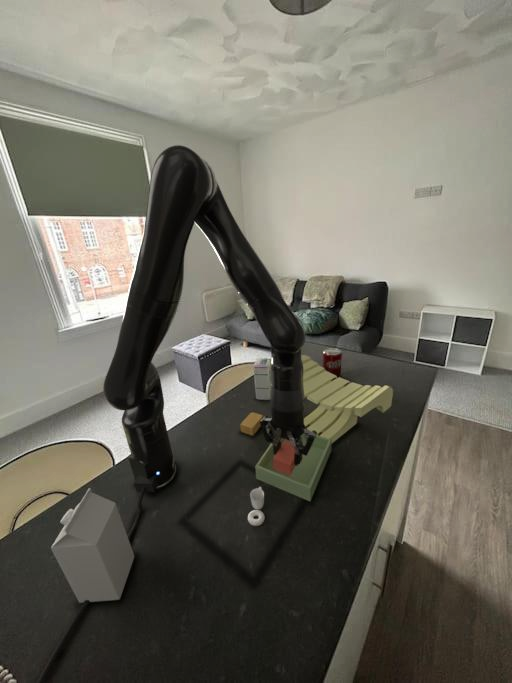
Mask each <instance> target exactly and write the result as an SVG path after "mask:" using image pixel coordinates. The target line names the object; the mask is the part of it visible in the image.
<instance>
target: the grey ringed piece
mask: <svg viewBox="0 0 512 683" xmlns="http://www.w3.org/2000/svg"><path fill="white" fill-rule="evenodd" d="M249 497H250V502H251V506H252V507H253V510H251V511H250V512H249V513H248V515H247V521H248V523H249V525H251V526H253V527H258V526H261V525H262V524H263V523H264V522H265V519H266V518H265V513H264V512H263V511H262V510H261V509H262V508H263V507H264V505H265V491H264V490H263V487H262V486H259V487H256V488H253V489H252V490H251V491H250V493H249ZM254 517H258V518H254Z"/></svg>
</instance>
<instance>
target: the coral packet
mask: <svg viewBox="0 0 512 683" xmlns="http://www.w3.org/2000/svg"><path fill="white" fill-rule="evenodd" d="M294 453H295V451H294V448H293V447H292V446H291V443H290V441H287V440H285V441H284V443H283V444H282V446H281V447H280V449H279V451H278V452H277V454H276V455H275V457H274V458H273V465H274V469H276V470H278V471H281V472H283V473H286V474H288V475H291V473H292V471H293V470H294V468H295V466H296V465H294Z"/></svg>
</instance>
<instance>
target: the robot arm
mask: <svg viewBox="0 0 512 683" xmlns="http://www.w3.org/2000/svg"><path fill="white" fill-rule="evenodd" d="M146 205H147V206H146V212H145V221H144V227H143V233H142V238H141V241H140V245H139V249H138V253H137V256H136V259H135V260H136V261H135V265H134V269H133V272H132V277H131V280H130V284H129V288H128V293H127V298H126V301H125V305H124V306H125V307H124V313H123V316H122V320H121V325H120V329H119V330H120V331H119V335H118V338H117V343H116V348H115V351H114V354H113V357H112V359H111V362H110V365H109V368H108V369H107V372H106V375H105V378H104V380H103V395H104V398H105V400H106V402H107V403H108V404H109V405H110V406H111V407H112V408H114V409H116V410H119V411H123V413H122V416H121V425H122V429H123V432H124V434H125V438H126V442H127V446H128V449H129V452H130V454H129V455H128V456H127V459H128V462H129V465H130V468H131V473H132V475H133V478H134V483H133V484H134V487H135V488H134V489H135V491H136V492H138V493H139V492H140V493H139V496H138V500H137V512H136V516H135V520H134V522H133V525H132V526H131V528H130V531H129V532H128V534H127V537H128V540H129V541H130V540H131V538H133V535H134V533H135V531H136V529H137V527H138V524H139V521H140V518H141V515H142V510H143V498H144V495H145V493H150V494H154V493H155V492H156V491H159V490H161V489H163V488H165V487H167V486H169V484H170V483H172V482H173V481H174V479H175V477H176V474H177V466H176V464H175V459H176V457H175V455H174V454H173V451H172V450H173V449H172V446H171V441H170V437H169V433H168V429H167V424H166V420H165V415H164V408H165V399H164V392H163V387H162V381H161V377H160V373H159V371H158V368H157V367H156V366H155V364H154V363H153V362H152V361H153V360H154V356H155V355H156V353H157V351H158V349H159V348H160V346H161V344H162V343H163V341H164V339H165V338H166V335H167V334H168V332H169V330H170V328H171V326H172V324H173V322H174V319H175V316H176V313H177V311H178V307H179V304H180V301H181V298H182V295H183V294H182V293H183V289H184V281H185V280H184V278H185V256H186V250H187V245H188V241H189V239H190V236H191V233H192V230H193V228H194V225H196V227H198V228H199V229H200V231H201V232H202V233H203V235H204V236H205V237H206V239H207V240H208V241H209V243H210V245H211V246H212V248H213V250H214V252H215V253H216V255H217V257H218V259H219V261H220V263H221V265H222V268H223V270H224V272H225V274H226V276H227V278H228V279H229V281H230V283H231V284H232V286H233V287H234V289H235V290H236V292H237V293H238V295H239V296H240V298H241V299H242V301H243V302H244V303H245V305H246V306H247V307H248V309H249V310H250V311H251V313H252V314H253V316H254V318H255V321H256V322H257V324H258V326H259V327H260V329H261V331H262V333H263V335H264V337H265V338H266V341H267V342H268V344H269V345H270V357H271V358H270V359H271V372H270V373H271V389H270V400H269V402H270V417H269V416H268V415H264V416H263V419H262V420H261V421H260V425H261V426H260V428H261V430H262V433H263V437H264V439H265V442H266V443H270V444H271V443H272V445H273V453H274V455H276V454H277V452H278V451H279V449H280V447H281V442H280V440H281V438H283V439H287V440H289V441H290V443H291V446H292V447H293V448H294V451H295V453H294V465H296V466H298V464H300V463H301V461H302V454H303V455H305V456H306V455H307V454H308V452H309V450H310V448H311V446H312V444H313V442H314V439H315V437H316V435H317V432H316V431H314V430H313V431H312V432H311V431H309V430H307V429H306V427H305V425H304V418H305V401H306V397H305V398H304V386H303V362H302V358H301V355H302V348H303V347H304V345H305V342H306V336H307V335H306V330H305V327H304V325H303V321H302V319H301V318H300V316H299V315H298V314H297V313H295V312H293V311H292V309H291V308H290V306H289V305H288V304H287V302H286V301H285V298H284V296H283V293H282V290H281V289H280V287H279V285H278V284H277V282H276V280H275V279H274V277H273V275H272V274H271V273H270V271H269V269H268V268H267V266H266V264H264V262H263V260H262V259H261V257H260V256H259V255H258V253H257V252H256V250H255V248H254V247H253V246H252V244H251V242H250V241H249V240H248V238H247V237H246V235H245V234H244V232H243V231H242V229H241V228H240V225H239V224H238V223H237V220H236V219H235V217H234V215H233V214H232V212H231V209H230V208H229V205H228V202H227V201H226V198H225V197H224V194H223V191H222V190H221V188H220V185H219V182H218V180H217V177H216V174H215V172H214V170H213V168H212V167H211V165H210V164H209V163H208V161H207V160H205V159H204V158H203V157H202V156H201V155H200V154H198V152H196V151H195V150H193V149H191V148H190V147H187V146H185V145H180V144H176V145H172V146H168V147H167V148H165V149H164V150H162V152H161V153H159V155H158V156H157V157H156V159H155V161H154V163H153V166H152V169H151V174H150V180H149V188H148V197H147V204H146ZM274 431H275V432H274ZM302 434H304V435H305V439H306V441H307V442H306V445H305V446H303V443H302V437H301V435H302ZM90 603H91V602H90V601H89V600H85V601H84V603H81V605H80V607H79V609H78V611H77V612H76V614H74V617H73V619H72V620H71V622H70V623H69V625H68V626H67V627H66V628H67V629H66V630H65V632H64V634H63V635H62V637H61V638H60V641H59V642H58V644H57V645H56V647H55V649H54V650H53V652H52V653H51V656H50V657H49V659H48V660H47V663H46V665H45V667H44V668H43V669H42V671H41V673H40V675H39V677H38V679H37V681H36V683H45V680H46V678H47V676H48V674H49V673H50V671H51V669H52V667H53V665H54V663H55V662H56V659H58V657H59V654H60V652H61V651H62V649H63V647H64V645H65V644H66V642H67V640H68V638H69V637H70V636H71V634H72V631H73V630H74V628H75V627H76V625H77V623H78V622H79V620H80V619H81V617H82V615H83V614H84V612H85V610H86V609H87V607H88V605H89V604H90Z"/></svg>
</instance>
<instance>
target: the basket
mask: <svg viewBox="0 0 512 683" xmlns="http://www.w3.org/2000/svg"><path fill="white" fill-rule="evenodd" d="M301 437H302V443H303V446H305V445H306V442H307V441H306V439H305V435H304V434H302V435H301ZM285 440H287V439H283V438H281V440H280V442H281V446H282V444H283V443H284V441H285ZM287 441H289V440H287ZM331 442H332V440H331V439H328V438H325V437H321V436H318V435H316V437H315V439H314V442H313V444H312V446H311V448H310V450H309V452H308V454H307V455H306V456H305V455H303V454H302V461H301V463H300V464H298V466H295V468H294V470H293V471H292V473H291V475H288V474H286V473H283V472H281V471H278V470H276V469H274V465H273V458H274V457H275V455H274V453H273V445H272V443H271V442H270V444H269V445H268V447H267V449H266V450H265V452H263V454H262V455H261V457H260V459H259V460H258V462H257V463H256V464H255V466H254V470H255V479H256V480H259V481H261V482H263V483H265V484H267V485H270V486H272V487H275V488H277V489H279V490H282V491H284V492H286V493H288V494H291V495H294V496H295V497H298V498H301V499H303V500H304V501H305V500H306V501H308V502H311V501H312V498H313V496H314V494H315V491H316V489H317V487H318V484H319V482H320V479H321V477H322V474H323V472H324V469H325V467H326V465H327V462H328V460H329V458H330V455H331V452H332V444H331Z"/></svg>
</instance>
